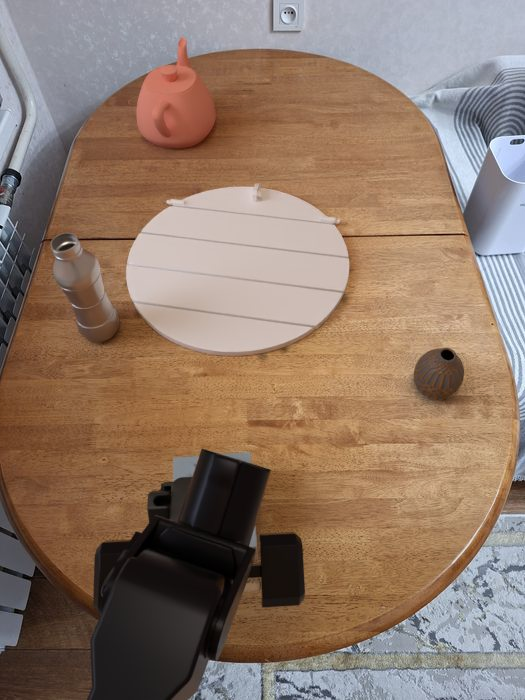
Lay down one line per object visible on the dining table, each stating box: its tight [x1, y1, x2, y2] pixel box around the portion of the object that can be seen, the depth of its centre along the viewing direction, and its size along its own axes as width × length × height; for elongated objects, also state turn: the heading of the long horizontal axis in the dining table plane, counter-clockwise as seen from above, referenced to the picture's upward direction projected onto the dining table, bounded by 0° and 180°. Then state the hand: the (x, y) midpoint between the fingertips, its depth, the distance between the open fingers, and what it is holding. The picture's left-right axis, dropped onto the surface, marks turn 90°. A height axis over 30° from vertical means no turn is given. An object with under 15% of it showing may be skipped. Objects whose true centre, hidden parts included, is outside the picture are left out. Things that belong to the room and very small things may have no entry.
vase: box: [413, 347, 465, 401], centre depth 79 cm, size 7×7×9 cm
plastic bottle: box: [50, 232, 120, 343], centre depth 82 cm, size 6×7×20 cm
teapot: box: [136, 36, 217, 149], centre depth 116 cm, size 25×17×13 cm
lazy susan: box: [125, 182, 350, 357], centre depth 97 cm, size 40×39×3 cm
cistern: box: [172, 451, 259, 561], centre depth 69 cm, size 12×10×8 cm
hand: (204, 560), depth 58 cm, fingers closed
